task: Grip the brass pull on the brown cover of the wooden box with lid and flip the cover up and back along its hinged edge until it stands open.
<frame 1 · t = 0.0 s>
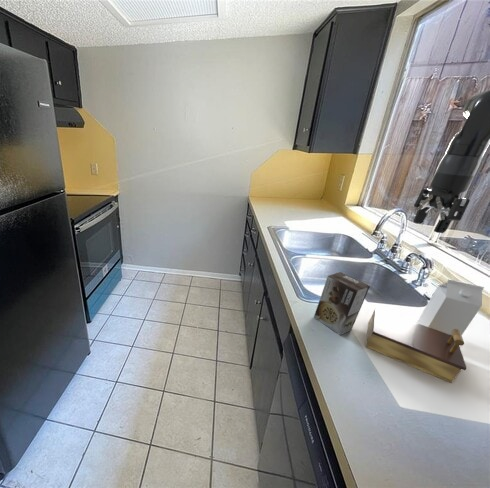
hand: (427, 227, 78), 31 cm above the worktop, tool pointing down, fingers open, 8 cm apart
milk carton: (433, 335, 79), on the worktop
cover: (417, 329, 70), point 7 cm above the worktop, hinge at 0.0°
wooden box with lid: (404, 348, 74), on the worktop
coffee box: (331, 323, 82), on the worktop
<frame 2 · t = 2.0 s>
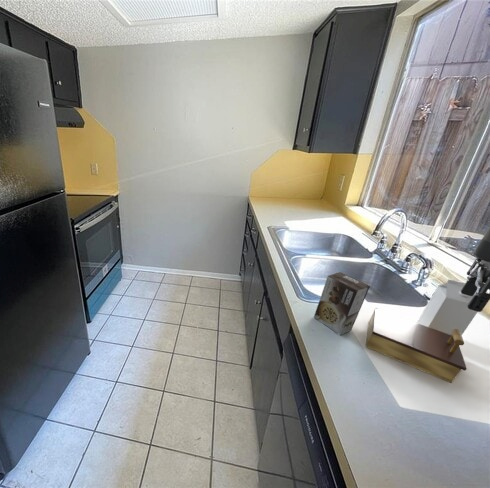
hand: (469, 301, 64), 19 cm above the worktop, tool pointing down, fingers open, 8 cm apart
nothing on the worktop moved.
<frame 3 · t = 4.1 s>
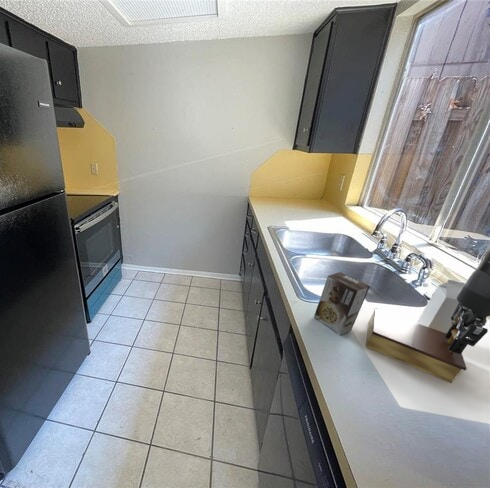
hand: (452, 344, 67), 7 cm above the worktop, tool pointing down, fingers closed on cover, 5 cm apart
cover: (417, 329, 70), point 7 cm above the worktop, hinge at -0.1°, touching gripper
everything else where it was.
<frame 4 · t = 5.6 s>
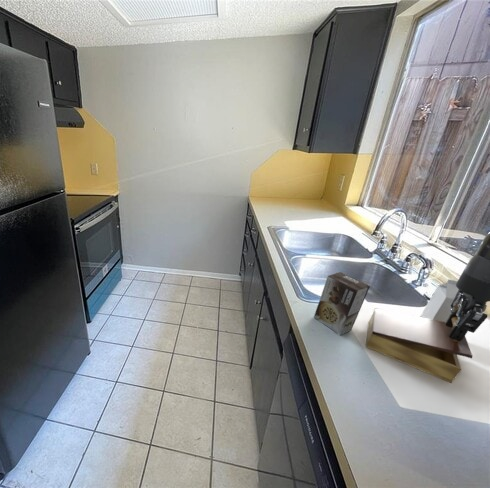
hand: (452, 332, 66), 10 cm above the worktop, tool pointing down, fingers closed on cover, 5 cm apart
cover: (417, 322, 70), point 9 cm above the worktop, hinge at 12.2°, touching gripper
everything else where it was.
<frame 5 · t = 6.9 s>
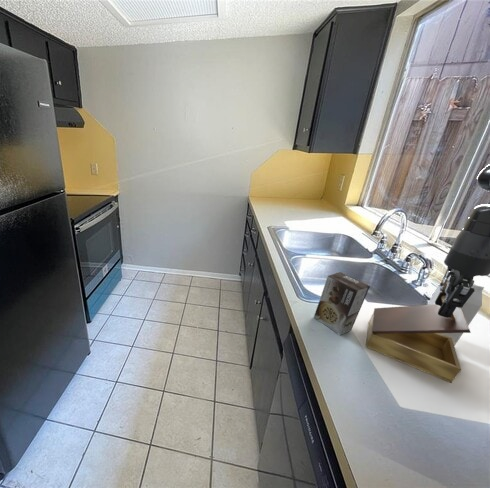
hand: (441, 310, 66), 15 cm above the worktop, tool pointing down, fingers closed on cover, 5 cm apart
cover: (411, 311, 70), point 12 cm above the worktop, hinge at 33.5°, touching gripper
everything else where it was.
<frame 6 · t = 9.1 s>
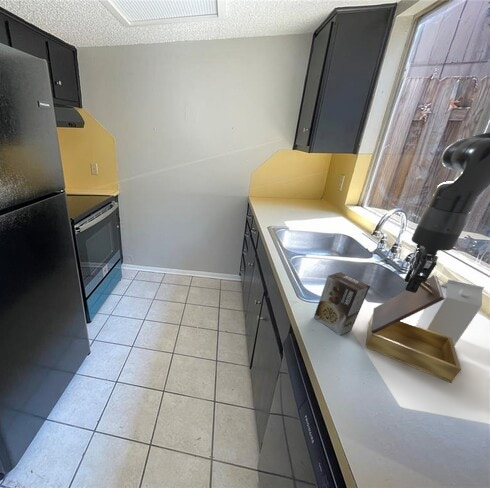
hand: (409, 286, 69), 19 cm above the worktop, tool pointing down, fingers closed on cover, 5 cm apart
cover: (396, 298, 71), point 14 cm above the worktop, hinge at 61.9°, touching gripper
everything else where it was.
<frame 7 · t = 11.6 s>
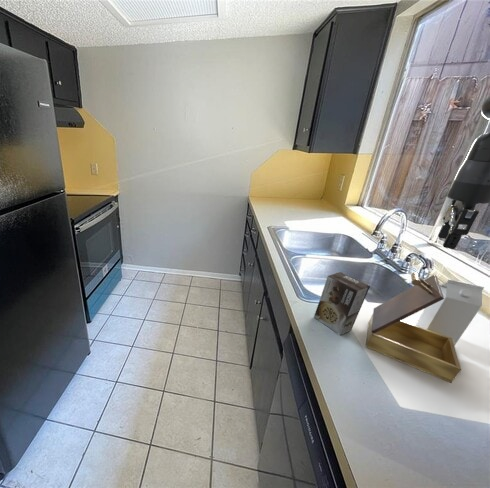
hand: (445, 242, 68), 30 cm above the worktop, tool pointing down, fingers open, 8 cm apart
cover: (396, 298, 71), point 14 cm above the worktop, hinge at 62.3°
everything else where it was.
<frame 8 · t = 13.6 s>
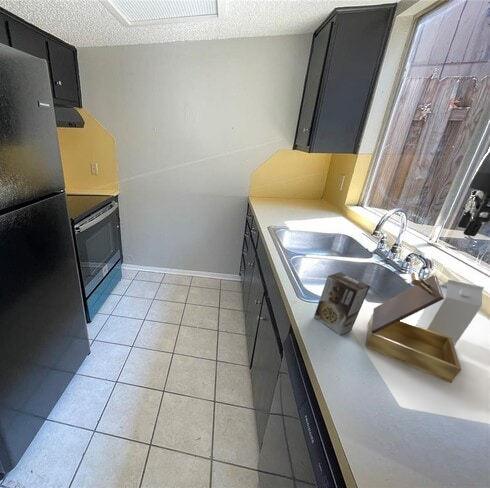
hand: (465, 231, 72), 32 cm above the worktop, tool pointing down, fingers open, 8 cm apart
nothing on the worktop moved.
at the end: cover at +62° (first picture: +0°) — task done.
